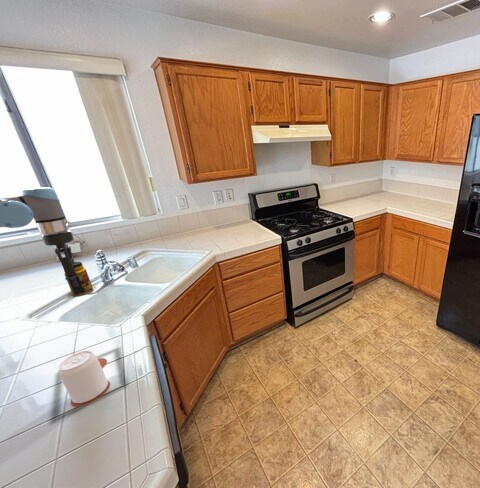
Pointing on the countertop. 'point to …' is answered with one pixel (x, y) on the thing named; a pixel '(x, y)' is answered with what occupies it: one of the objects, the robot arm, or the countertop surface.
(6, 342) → the countertop surface
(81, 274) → the condiment
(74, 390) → the white upturned tub
